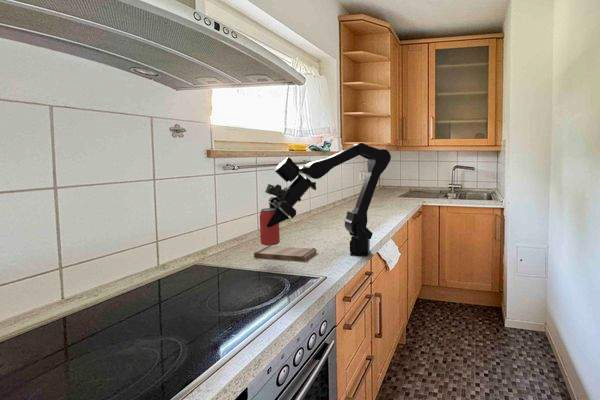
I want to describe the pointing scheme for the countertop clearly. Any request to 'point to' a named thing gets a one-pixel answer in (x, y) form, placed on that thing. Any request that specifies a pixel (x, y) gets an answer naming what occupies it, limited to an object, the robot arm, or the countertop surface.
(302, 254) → the walnut board
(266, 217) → the beer can
